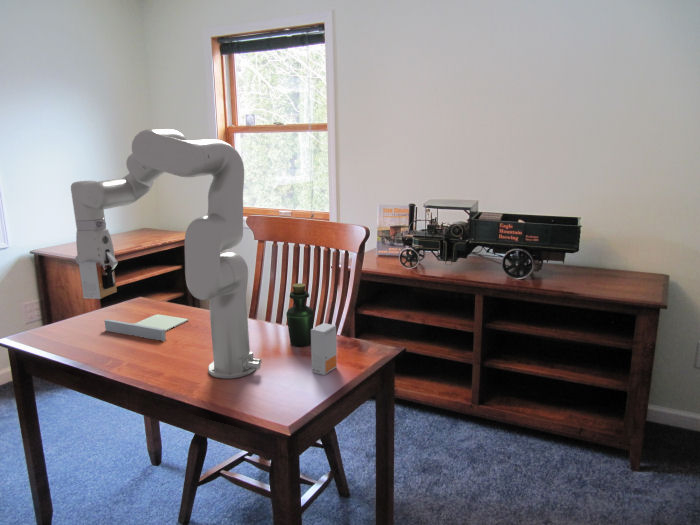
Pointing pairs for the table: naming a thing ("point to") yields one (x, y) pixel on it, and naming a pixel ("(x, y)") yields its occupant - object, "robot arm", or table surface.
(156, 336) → the low wall
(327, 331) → the skincare box
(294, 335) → the potion bottle
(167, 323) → the mat
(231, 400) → the table surface
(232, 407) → the table surface
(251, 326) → the table surface
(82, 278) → the small box
